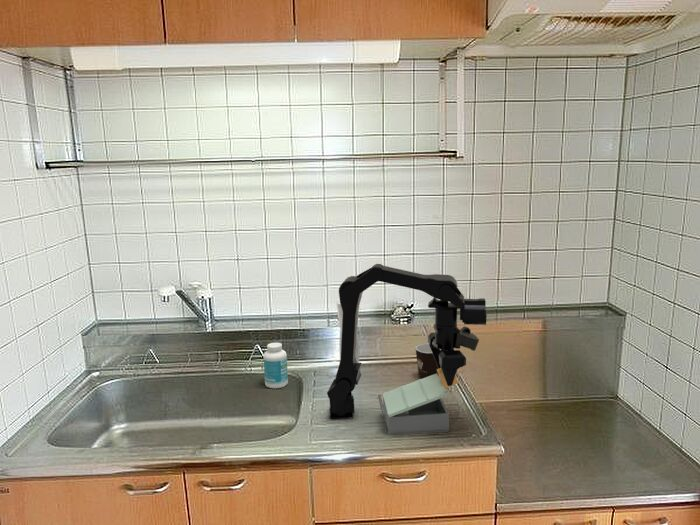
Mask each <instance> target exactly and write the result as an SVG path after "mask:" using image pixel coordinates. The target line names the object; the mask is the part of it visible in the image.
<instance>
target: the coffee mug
mask: <svg viewBox="0 0 700 525" xmlns="http://www.w3.org/2000/svg"><path fill="white" fill-rule="evenodd" d="M414 349H415V355H416V364H417V372H418V378H419V379H423V378H425V377H428V376H431V375H433V374H436V373H437V374H438V372H437V369H439V368H438V366H437V363H436V361H435V358H434V356H433V353H432V351H431V349H430V346H429V343H420V344H418V345H416V346H415V348H414ZM438 376H439V375H438Z"/></svg>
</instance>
